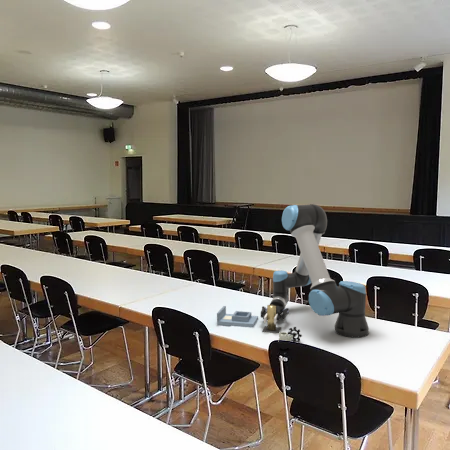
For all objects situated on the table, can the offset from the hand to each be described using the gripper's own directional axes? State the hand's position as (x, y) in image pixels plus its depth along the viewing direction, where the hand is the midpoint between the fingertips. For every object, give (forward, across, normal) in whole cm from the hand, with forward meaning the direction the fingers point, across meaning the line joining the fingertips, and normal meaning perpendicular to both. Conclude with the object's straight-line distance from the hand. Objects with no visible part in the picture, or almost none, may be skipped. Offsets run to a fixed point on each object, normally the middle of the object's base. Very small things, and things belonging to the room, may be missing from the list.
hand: (269, 320), depth 197 cm
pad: (-5, 0, -6) cm, 8 cm away
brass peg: (-5, 0, -6) cm, 8 cm away
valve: (+11, -10, -7) cm, 16 cm away
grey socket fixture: (-12, +18, -6) cm, 23 cm away
